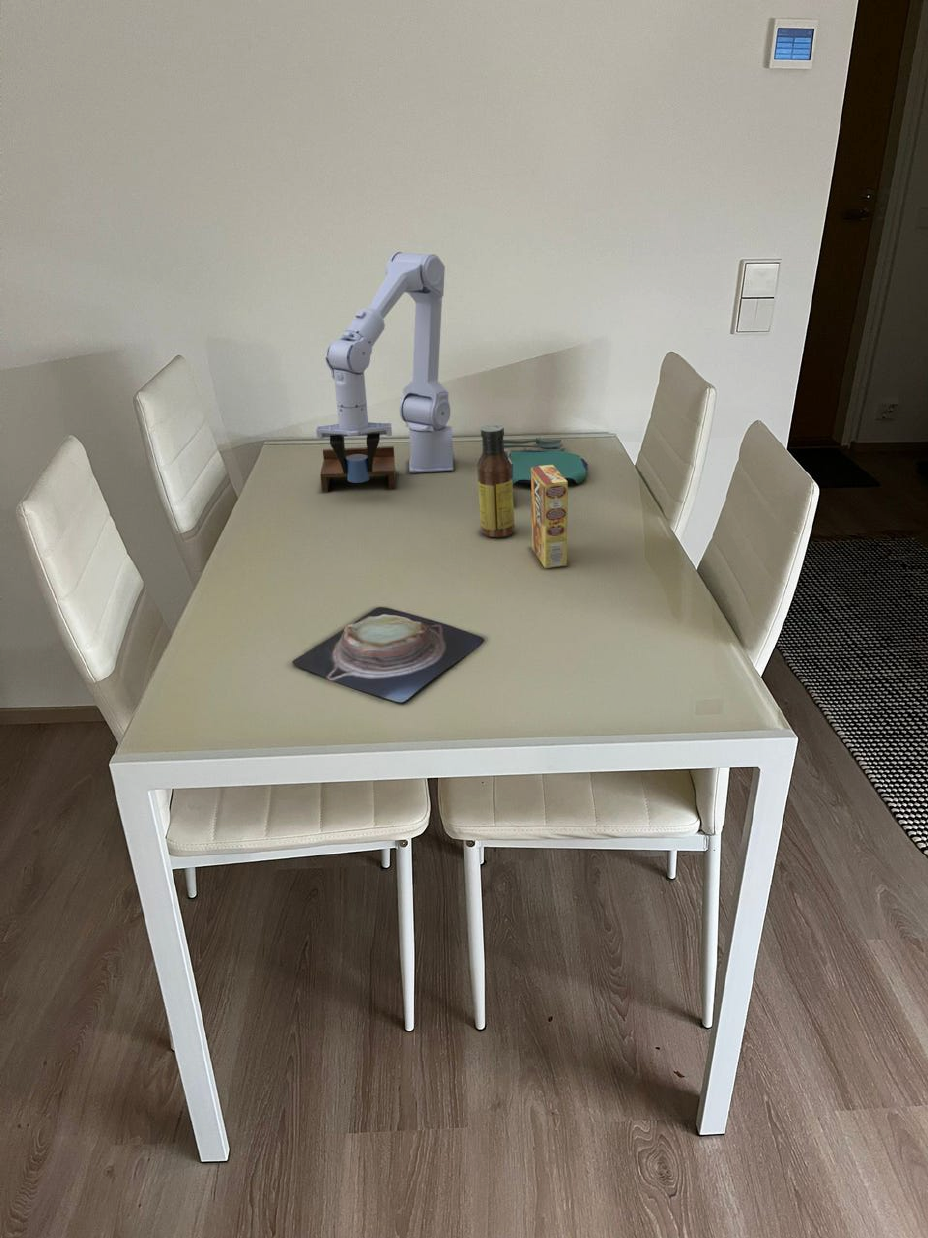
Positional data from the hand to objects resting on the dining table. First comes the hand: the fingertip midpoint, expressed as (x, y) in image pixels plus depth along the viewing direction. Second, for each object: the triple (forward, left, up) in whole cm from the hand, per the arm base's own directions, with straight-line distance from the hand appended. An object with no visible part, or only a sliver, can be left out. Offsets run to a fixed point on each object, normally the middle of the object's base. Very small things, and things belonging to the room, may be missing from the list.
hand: (357, 471), depth 191 cm
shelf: (+1, -10, -6) cm, 12 cm away
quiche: (-7, +62, -6) cm, 63 cm away
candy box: (-34, +32, -6) cm, 47 cm away
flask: (-29, +4, -6) cm, 30 cm away
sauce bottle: (-26, +20, -6) cm, 33 cm away
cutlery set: (-38, -15, -6) cm, 41 cm away
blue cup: (0, 0, -2) cm, 2 cm away
